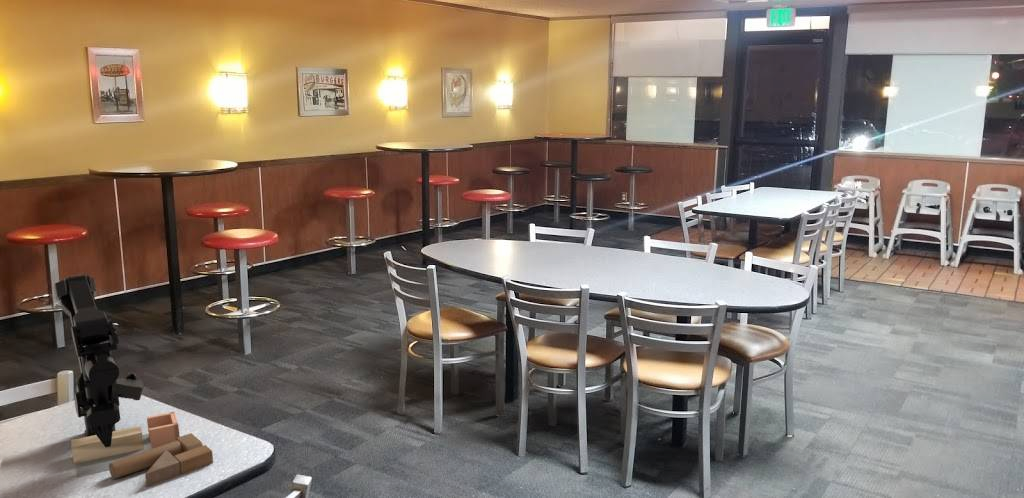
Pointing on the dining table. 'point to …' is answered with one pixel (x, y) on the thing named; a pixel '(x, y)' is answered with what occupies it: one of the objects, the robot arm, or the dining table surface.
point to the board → (108, 460)
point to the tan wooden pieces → (165, 460)
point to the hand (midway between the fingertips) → (107, 438)
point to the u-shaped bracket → (162, 429)
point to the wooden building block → (95, 449)
